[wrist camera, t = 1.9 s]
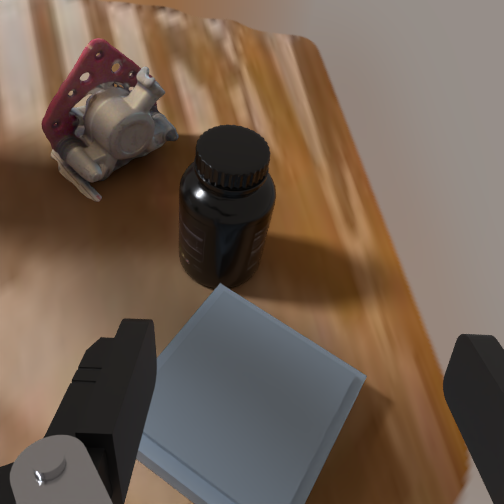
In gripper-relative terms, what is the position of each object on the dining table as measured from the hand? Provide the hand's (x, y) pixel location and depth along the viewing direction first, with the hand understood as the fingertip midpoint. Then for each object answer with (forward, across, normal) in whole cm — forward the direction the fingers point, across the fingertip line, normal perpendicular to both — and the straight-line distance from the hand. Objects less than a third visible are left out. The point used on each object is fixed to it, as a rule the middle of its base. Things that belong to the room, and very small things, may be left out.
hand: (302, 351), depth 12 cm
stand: (+12, +2, +17) cm, 21 cm away
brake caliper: (+34, +15, +6) cm, 37 cm away
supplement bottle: (+24, +4, +11) cm, 27 cm away
